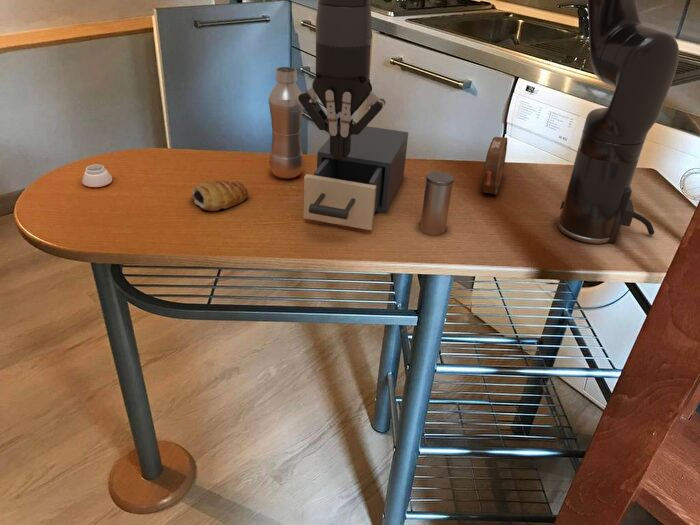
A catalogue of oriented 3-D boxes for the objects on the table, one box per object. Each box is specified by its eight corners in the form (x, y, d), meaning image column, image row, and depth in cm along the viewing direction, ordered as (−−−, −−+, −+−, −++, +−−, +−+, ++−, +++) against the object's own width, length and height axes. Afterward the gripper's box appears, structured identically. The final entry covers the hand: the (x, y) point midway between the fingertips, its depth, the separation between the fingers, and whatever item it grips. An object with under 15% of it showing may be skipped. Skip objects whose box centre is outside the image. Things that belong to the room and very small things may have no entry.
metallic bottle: (306, 169, 121) (307, 66, 110) (300, 184, 115) (301, 76, 105) (273, 166, 121) (272, 63, 111) (266, 181, 116) (263, 73, 105)
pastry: (236, 188, 112) (235, 168, 110) (255, 202, 108) (255, 182, 106) (188, 200, 107) (186, 180, 105) (207, 216, 103) (205, 195, 101)
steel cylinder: (447, 225, 105) (455, 173, 100) (443, 237, 101) (451, 184, 96) (422, 221, 106) (428, 169, 101) (417, 232, 102) (424, 179, 97)
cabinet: (385, 213, 107) (390, 163, 102) (315, 201, 110) (317, 151, 105) (403, 178, 120) (408, 132, 115) (340, 167, 123) (342, 122, 118)
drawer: (362, 248, 95) (365, 204, 91) (291, 234, 97) (291, 191, 93) (390, 193, 112) (394, 155, 108) (329, 183, 114) (330, 145, 110)
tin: (494, 202, 113) (502, 159, 109) (477, 198, 114) (484, 156, 110) (504, 171, 126) (512, 132, 121) (488, 169, 126) (496, 129, 122)
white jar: (78, 181, 111) (88, 191, 108) (75, 165, 110) (85, 175, 107) (106, 175, 114) (116, 185, 111) (104, 160, 113) (114, 169, 109)
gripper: (287, 39, 83) (290, 161, 91) (384, 48, 80) (377, 173, 89) (305, 29, 89) (306, 144, 98) (396, 37, 86) (388, 155, 95)
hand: (340, 158), depth 93 cm, fingers closed
